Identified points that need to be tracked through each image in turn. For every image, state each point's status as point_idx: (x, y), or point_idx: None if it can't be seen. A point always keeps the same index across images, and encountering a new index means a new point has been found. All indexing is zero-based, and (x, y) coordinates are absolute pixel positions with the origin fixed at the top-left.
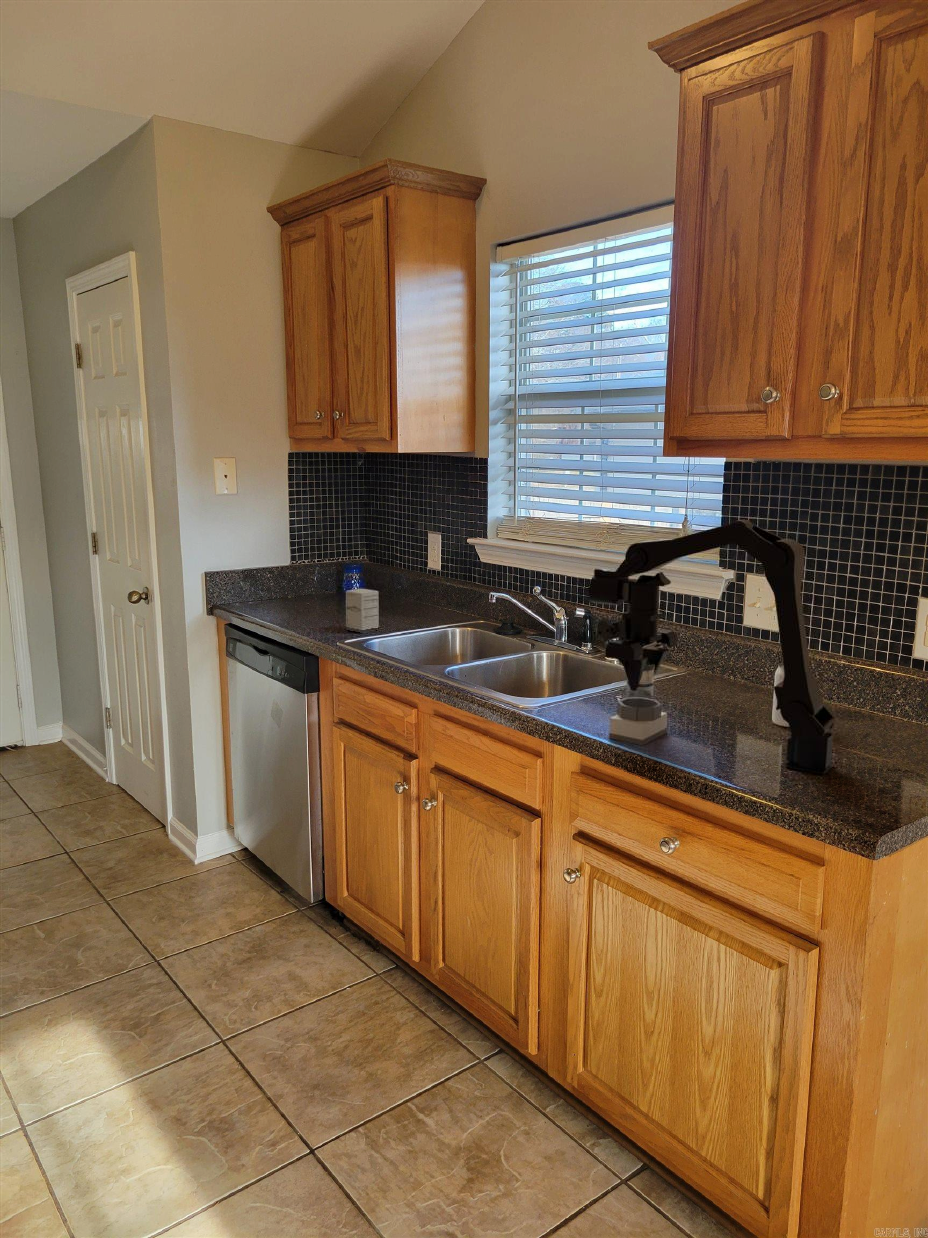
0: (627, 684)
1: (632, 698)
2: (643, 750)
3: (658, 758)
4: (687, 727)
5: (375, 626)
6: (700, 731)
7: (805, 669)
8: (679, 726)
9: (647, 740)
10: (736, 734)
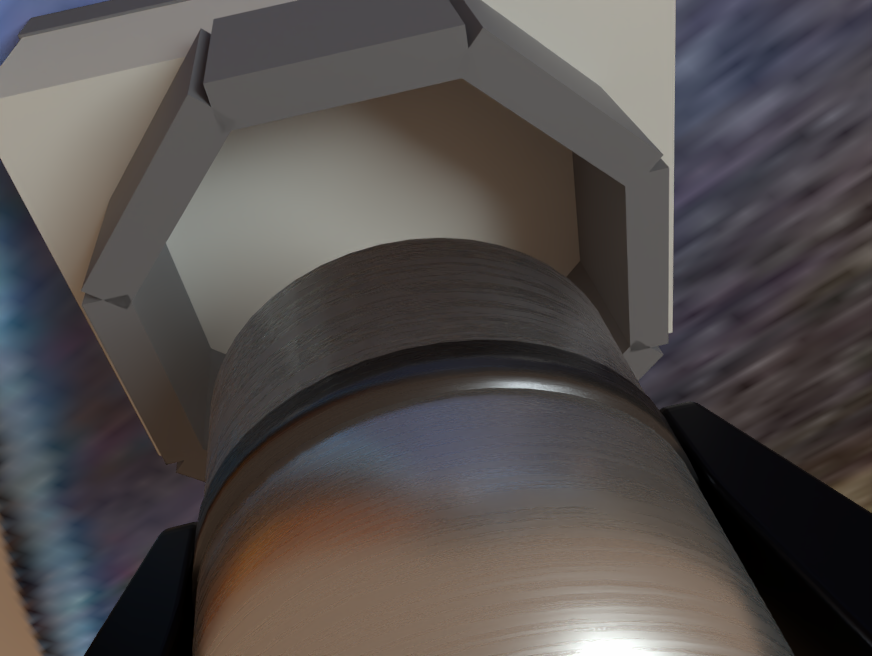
0: (221, 465)
1: (529, 117)
2: (95, 406)
3: (73, 541)
4: (844, 230)
5: None
6: (797, 338)
7: None
8: (837, 177)
9: None
10: (857, 473)
